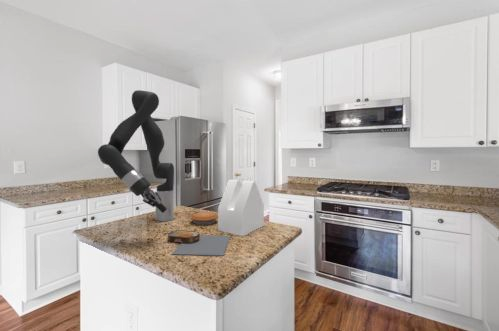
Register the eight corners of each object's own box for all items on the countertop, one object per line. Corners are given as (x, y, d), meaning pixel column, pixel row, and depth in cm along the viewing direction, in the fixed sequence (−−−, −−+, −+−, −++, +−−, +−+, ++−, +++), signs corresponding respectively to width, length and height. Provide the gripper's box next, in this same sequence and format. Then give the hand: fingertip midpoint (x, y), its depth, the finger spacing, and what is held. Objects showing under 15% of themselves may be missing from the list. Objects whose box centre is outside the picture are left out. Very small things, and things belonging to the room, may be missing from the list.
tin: (163, 235, 108) (175, 228, 115) (164, 242, 108) (176, 234, 116) (192, 238, 102) (203, 230, 110) (192, 245, 102) (203, 237, 110)
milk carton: (243, 236, 115) (243, 183, 113) (218, 230, 123) (218, 181, 122) (263, 226, 131) (263, 180, 129) (240, 221, 139) (240, 178, 138)
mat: (171, 254, 93) (171, 253, 93) (188, 235, 115) (188, 234, 115) (223, 256, 92) (223, 255, 92) (230, 236, 114) (230, 235, 114)
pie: (189, 219, 143) (189, 211, 143) (216, 218, 147) (216, 209, 147) (190, 227, 128) (190, 218, 128) (219, 225, 132) (219, 216, 132)
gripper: (136, 177, 98) (167, 208, 99) (148, 175, 111) (175, 202, 112) (122, 190, 98) (153, 221, 99) (136, 186, 111) (163, 213, 112)
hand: (165, 210), depth 106 cm, fingers closed
